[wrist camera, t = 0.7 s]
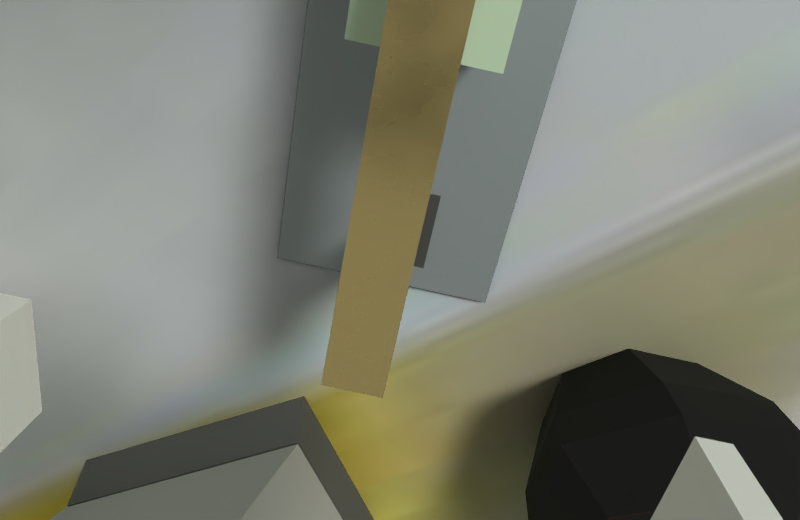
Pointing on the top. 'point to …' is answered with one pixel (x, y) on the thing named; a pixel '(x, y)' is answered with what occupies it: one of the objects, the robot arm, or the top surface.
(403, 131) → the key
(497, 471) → the top surface
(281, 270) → the top surface
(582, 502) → the bottle
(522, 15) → the plate
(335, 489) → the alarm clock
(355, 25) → the pale green block
